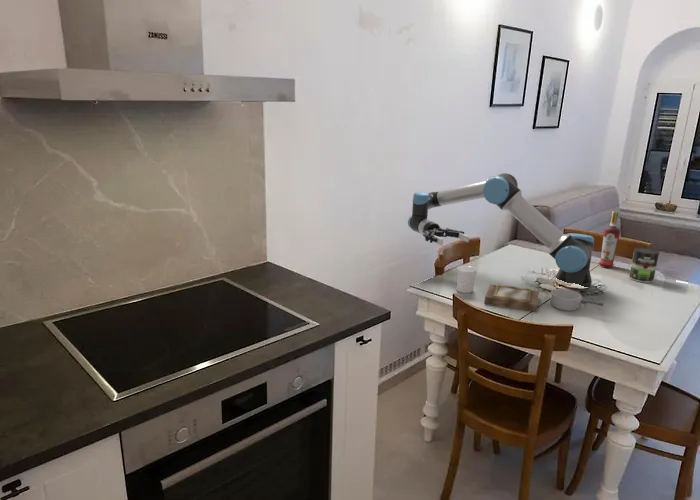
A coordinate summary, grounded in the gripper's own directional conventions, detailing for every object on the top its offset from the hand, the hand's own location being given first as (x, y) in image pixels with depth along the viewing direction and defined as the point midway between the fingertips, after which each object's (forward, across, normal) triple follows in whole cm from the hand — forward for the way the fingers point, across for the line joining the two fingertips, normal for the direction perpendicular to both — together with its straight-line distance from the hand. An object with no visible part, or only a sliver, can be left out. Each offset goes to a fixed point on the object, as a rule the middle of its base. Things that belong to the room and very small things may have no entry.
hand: (455, 240), depth 225 cm
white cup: (+10, 0, -20) cm, 22 cm away
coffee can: (+28, -87, -20) cm, 93 cm away
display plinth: (+27, -11, -20) cm, 35 cm away
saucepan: (+43, -29, -20) cm, 56 cm away
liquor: (+8, -87, -20) cm, 90 cm away
